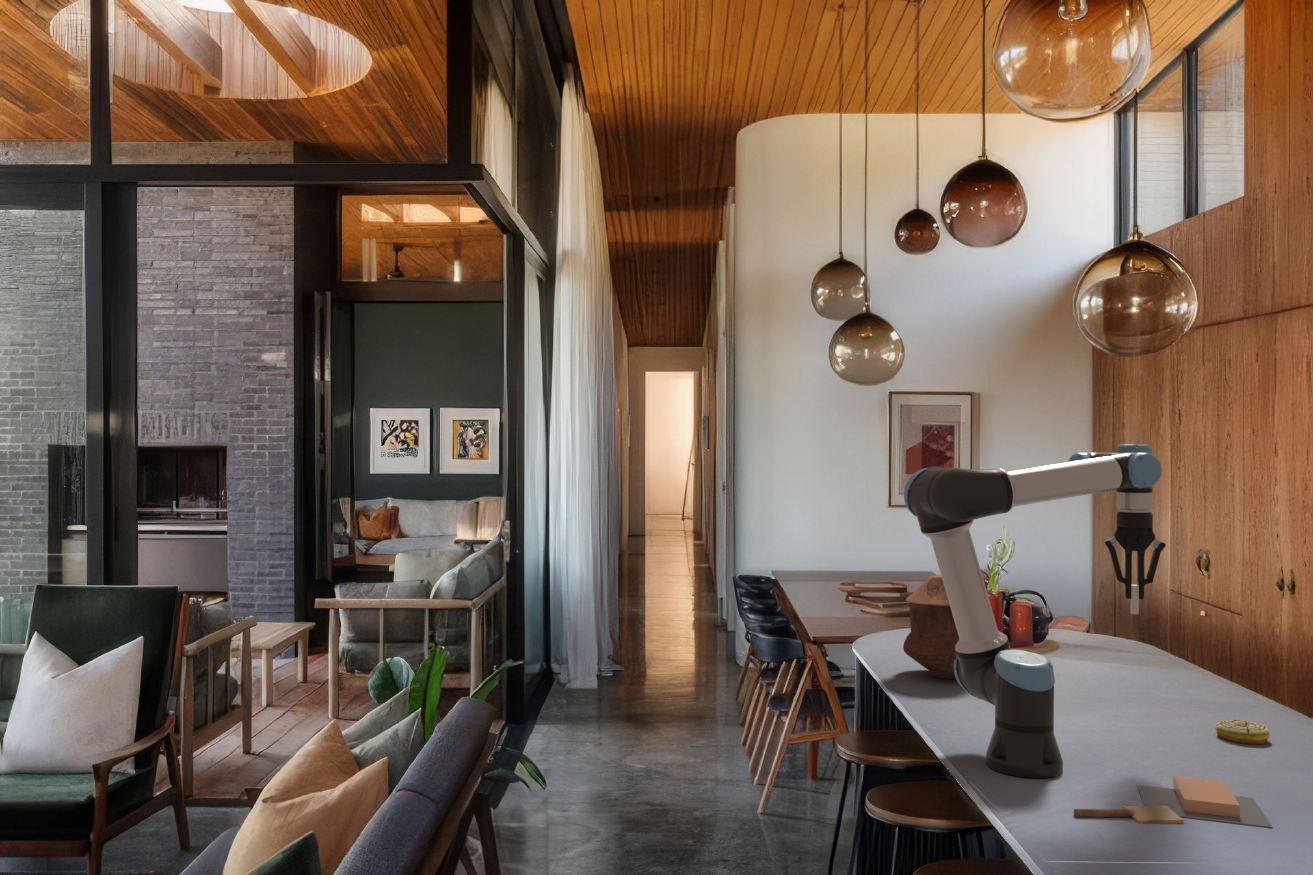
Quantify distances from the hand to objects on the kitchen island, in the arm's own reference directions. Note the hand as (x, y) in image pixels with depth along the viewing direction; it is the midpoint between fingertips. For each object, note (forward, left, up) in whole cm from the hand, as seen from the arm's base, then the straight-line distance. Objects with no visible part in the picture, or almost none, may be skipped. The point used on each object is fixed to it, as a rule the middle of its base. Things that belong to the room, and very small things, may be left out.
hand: (1134, 613), depth 229 cm
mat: (+7, -43, -29) cm, 53 cm away
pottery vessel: (-45, +54, -30) cm, 76 cm away
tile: (+8, -34, -28) cm, 45 cm away
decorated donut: (+24, +12, -30) cm, 40 cm away
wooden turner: (-6, -54, -29) cm, 62 cm away
